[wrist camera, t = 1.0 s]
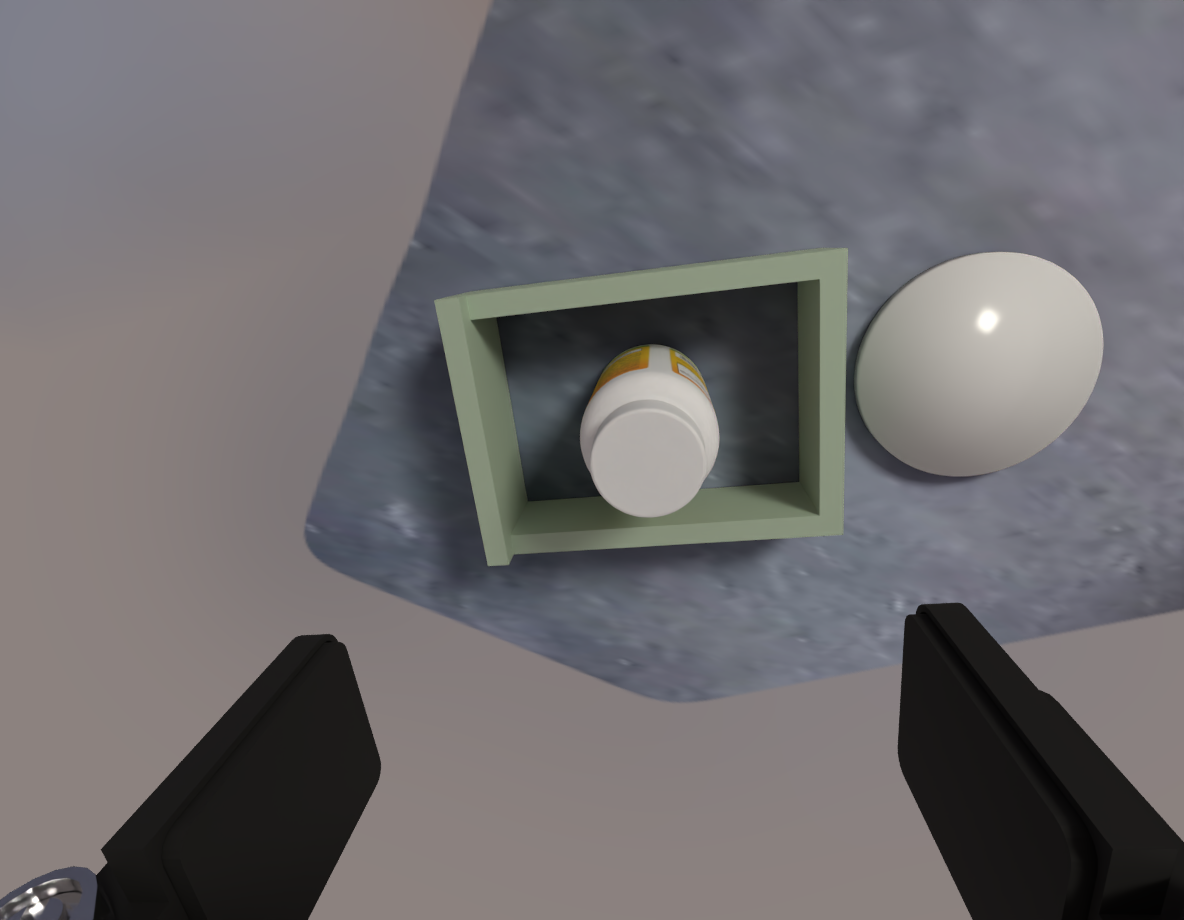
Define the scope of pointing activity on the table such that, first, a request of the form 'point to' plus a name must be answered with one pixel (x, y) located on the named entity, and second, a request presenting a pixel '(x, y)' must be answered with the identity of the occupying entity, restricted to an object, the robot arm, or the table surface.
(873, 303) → the table surface
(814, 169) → the table surface
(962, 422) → the saucer
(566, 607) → the table surface
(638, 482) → the supplement bottle
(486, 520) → the frame
